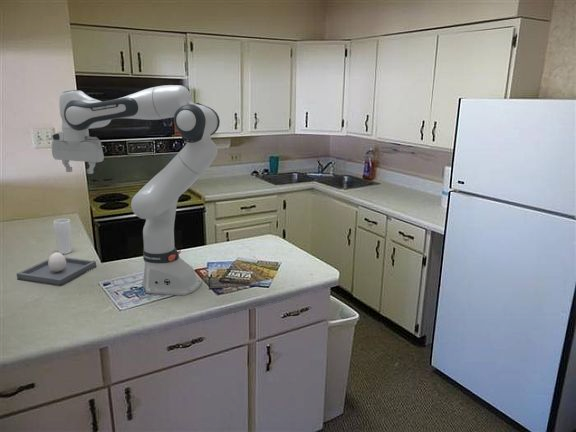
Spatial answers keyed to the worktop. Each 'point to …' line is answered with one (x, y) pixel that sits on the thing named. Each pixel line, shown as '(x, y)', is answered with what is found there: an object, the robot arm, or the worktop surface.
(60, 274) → the tray
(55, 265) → the egg
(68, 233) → the drinking glass
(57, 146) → the robot arm
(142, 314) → the worktop surface
